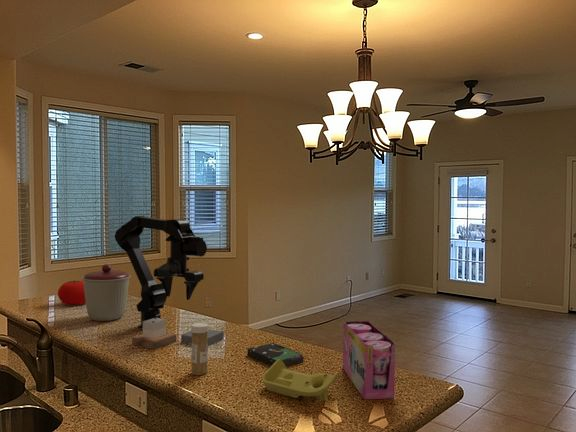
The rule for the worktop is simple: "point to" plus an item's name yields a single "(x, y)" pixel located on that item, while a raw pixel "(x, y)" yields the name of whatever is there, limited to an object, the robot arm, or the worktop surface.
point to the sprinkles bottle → (199, 348)
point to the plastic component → (297, 382)
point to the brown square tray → (154, 341)
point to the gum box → (369, 359)
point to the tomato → (72, 293)
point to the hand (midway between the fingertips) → (178, 298)
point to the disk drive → (275, 354)
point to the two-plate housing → (154, 328)
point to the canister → (106, 293)
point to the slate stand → (212, 337)
